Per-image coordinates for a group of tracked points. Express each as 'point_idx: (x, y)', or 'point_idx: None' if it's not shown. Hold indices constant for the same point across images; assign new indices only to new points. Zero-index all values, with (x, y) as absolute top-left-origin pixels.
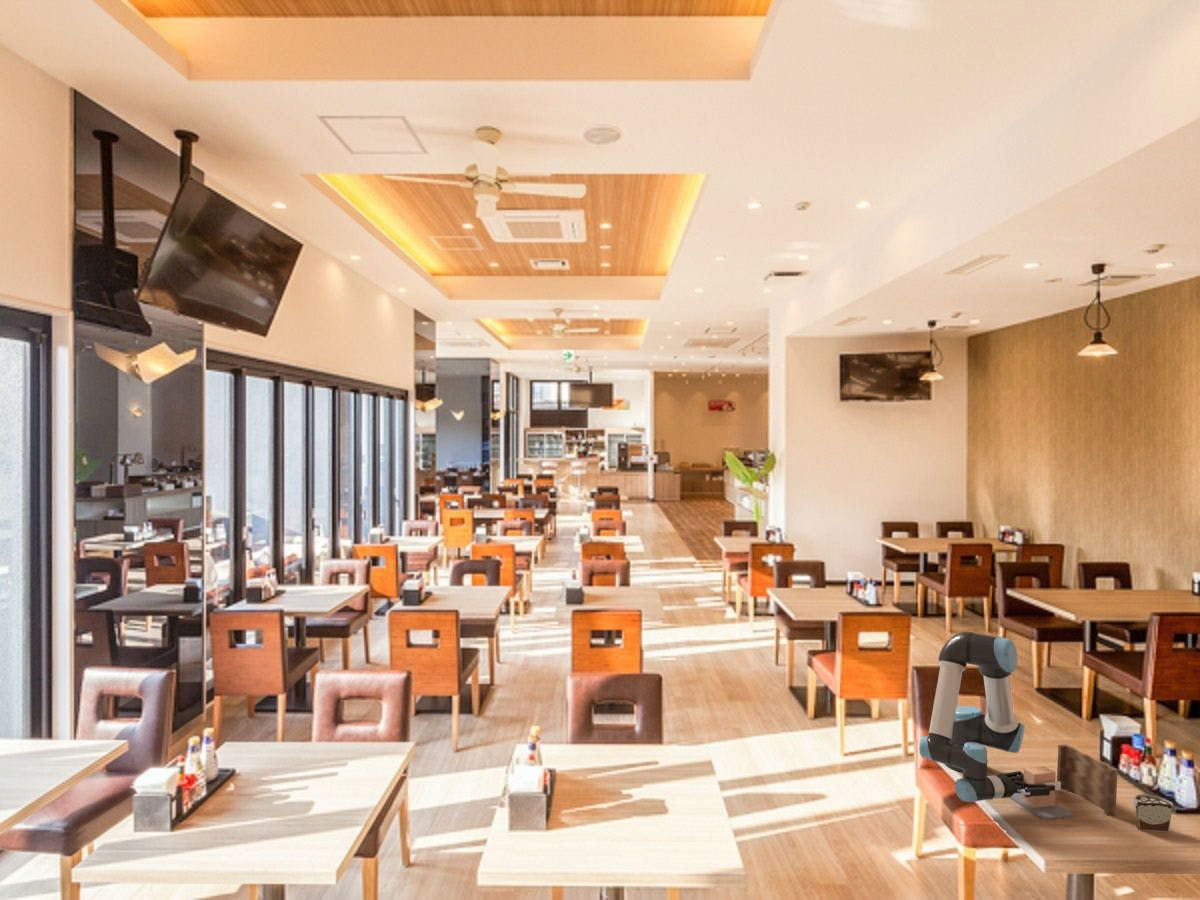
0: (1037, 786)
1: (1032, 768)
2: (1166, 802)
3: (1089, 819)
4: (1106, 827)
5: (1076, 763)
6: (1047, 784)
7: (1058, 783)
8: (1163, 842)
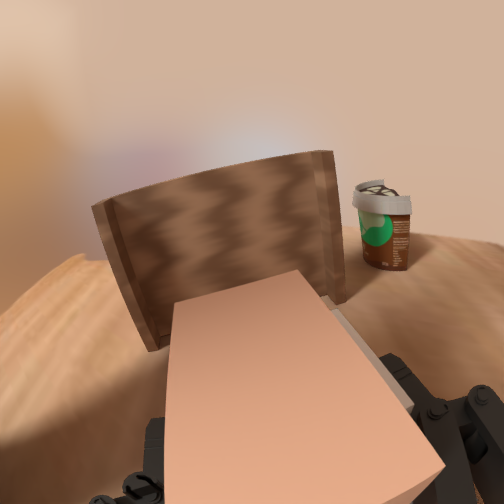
0: (466, 482)
1: (189, 419)
2: (372, 186)
3: (395, 345)
4: (432, 317)
5: (169, 231)
6: (400, 393)
7: (346, 324)
8: (442, 253)
